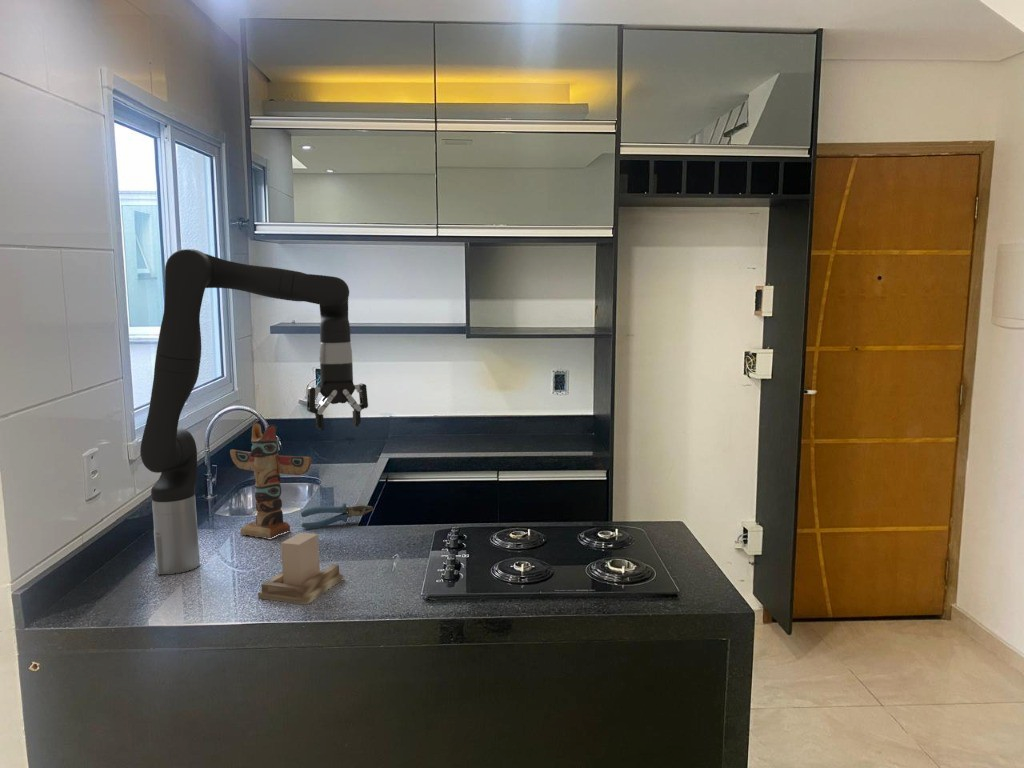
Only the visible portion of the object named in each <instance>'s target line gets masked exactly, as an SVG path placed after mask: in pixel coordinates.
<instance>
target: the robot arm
mask: <svg viewBox="0 0 1024 768" xmlns="http://www.w3.org/2000/svg"><path fill="white" fill-rule="evenodd" d="M206 289H229V290H237V291H242V292H246V293H249V294H254V295H258V296H262V297H266V298H271V299H272V298H273V299H277V300H278V299H279V300H282V301H283V300H284V301H291V302H305V303H306V302H307V303H310V304H316V305H319V315H320V316H319V317H320V323H319V337H320V338H319V340H320V341H319V342H320V344H319V345H320V347H319V364H320V365H319V367H320V368H319V369H320V385H319V387H313V386H308V387H307V389H306V390H307V395H306V398H307V399H306V401H307V402H306V410H307V412H309V413H311V414H314V415H315V427H316V428H317V429H318V430H319V431H324V430H325V422H324V414H323V413H324V412H325V410H326V408H328V407H329V405H330V404H332V405H336V404H346V403H348V404H349V406H350V407H351V408H352V409H353V410H352V425H353V427H354V428H358V427H359V426H360V425H361V422H362V420H361V419H362V418H361V417H362V416H361V412H362V411H363V410H365V409H367V408H369V402H368V401H369V400H368V391H367V390H368V388H367V385H366V384H365V383H358V384H354V372H353V370H354V369H353V350H352V343H351V325H350V321H349V297H350V289H349V285H348V283H346V281H344V280H343V279H342V278H341V277H337V276H331V275H322V274H311V273H305V272H302V271H297V270H293V269H292V270H290V269H287V268H286V269H285V268H279V267H271V266H262V265H254V264H246V263H245V264H244V263H241V262H235V261H230V260H226V259H222V258H219V257H217V256H213V255H210V254H207V253H205V252H203V251H201V250H197V249H194V248H193V249H192V248H191V249H190V248H187V249H185V248H184V249H179V250H177V251H175V252H173V253H172V254H171V255H170V256H169V257H168V259H167V261H166V263H165V267H164V307H163V309H164V310H163V316H162V318H161V319H162V320H161V323H160V324H161V325H160V329H159V333H158V334H159V335H158V341H157V346H156V351H155V361H154V368H153V369H154V371H153V382H152V388H151V394H150V401H149V408H148V412H147V417H146V421H145V426H144V429H143V433H142V434H143V435H142V437H141V442H140V443H141V444H140V450H139V452H140V453H139V454H140V458H141V459H140V460H141V463H142V464H143V466H144V467H145V468H146V469H147V470H148V471H150V472H152V473H156V474H157V473H158V474H159V473H160V476H159V477H158V479H157V481H156V482H155V483H154V484H153V486H152V487H151V490H150V491H151V492H150V496H151V498H150V499H151V507H152V508H151V509H152V519H153V539H154V552H155V553H154V555H155V561H156V562H155V565H156V566H157V567H156V572H157V571H158V572H157V574H159V575H160V574H161V575H174V574H175V573H176V574H182V573H186V571H187V572H189V570H190V571H193V570H194V568H195V569H196V568H198V567H199V566H200V565H201V560H200V558H201V556H200V545H199V535H198V534H199V533H198V531H199V530H198V518H197V517H198V516H197V504H196V503H197V502H196V492H195V490H196V485H197V482H198V450H197V449H198V448H197V443H196V441H195V438H194V436H193V435H192V434H191V432H190V431H189V430H187V429H185V428H183V427H179V421H180V417H181V413H182V410H183V409H184V406H185V404H187V403H186V402H187V401H188V400H189V397H190V396H191V394H192V392H193V390H194V389H195V388H194V387H195V386H196V383H197V381H198V379H199V373H200V368H201V367H200V366H201V359H202V334H201V319H200V318H201V317H200V316H201V307H202V305H203V298H204V295H205V290H206ZM355 391H356V392H357V393H358V394H359V396H358V397H359V403H358V402H357V401H356V399H355V398H354V397H353V396H352V395H353V393H354V392H355ZM319 394H321V395H322V398H321V400H320V401H319V402H318V405H317V406H316V397H317V396H318V395H319ZM199 564H200V565H199ZM198 565H199V566H198ZM197 566H198V567H197ZM181 572H182V573H181ZM159 575H158V576H159Z"/></svg>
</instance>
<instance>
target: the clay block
mask: <svg viewBox="0 0 1024 768" xmlns="http://www.w3.org/2000/svg"><path fill="white" fill-rule="evenodd" d="M280 545H281V546H280V548H281V549H280V550H281V551H280V552H281V565H282V572H283V584H292V585H302V584H303V583H305V582H307V581H308V580H310V579H311V578H313V577H314V576H316V575H317V574H319V573H320V571H321V570H320V569H321V568H320V553H319V552H320V551H319V550H320V549H319V546H320V545H319V535H318V533H311V532H310V533H307V532H299V533H297V534H295V535H293V536H291V537H289V538H287V539H285V540H284V541H281V543H280Z"/></svg>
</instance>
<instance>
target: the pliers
mask: <svg viewBox="0 0 1024 768" xmlns="http://www.w3.org/2000/svg"><path fill="white" fill-rule="evenodd" d="M372 511H374V507H373V506H371V505H364V504H358V505H353V506H347V504H346V502H343V503H342V504H341V506H323V505H322V506H315V507H310V508H307V509H304V510H302V511H301V512H300V515H301V517H302V518H306V517H309V516H312V515H316V514H327V513H328V514H329V513H330V514H337V515H334V516H332V517H328V518H326V519H322V520H318V521H313V522H312V521H311V522H302V523H301V528H304V529H307V530H310V529H318V528H319V529H320V528H323V527H326V526H329V525H332V524H334V523H337V522H340V521H343V522H344V523H347V522H348V518H353V517H361V516H364V515H366V514H368V513H370V512H372Z"/></svg>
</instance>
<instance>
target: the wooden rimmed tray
mask: <svg viewBox="0 0 1024 768" xmlns="http://www.w3.org/2000/svg"><path fill="white" fill-rule="evenodd" d="M342 579H343V580H344V573H340V565H339V564H333V563H332V565H330V566H329V567H327V568H325V569H324V570H322V571H321V570H320V573H319V574H317V575H316V576H314V577H313V578H311V579H310V580H308V581H307V582H305V583H303V584H302V585H292V584H283V571H281V572H280V573H278V574H276V575H274V576H272V577H271V578H269V579H267V580H265V581H264V582H263V583H261V590H260V591H258V593H257V597H258V599H260V600H261V599H263V600H270V601H278V602H285V603H291V604H301V605H309V604H310V603H312V602H313V601H315V600H316V599H317V598H319V597H320V596H322V595H323V594H325V593H326V592H328V591H329V590H330V589H332V588H333V587H334V586H336V585H337V584H338V582H339V581H340V582H342V581H343V580H342ZM340 582H339V583H340ZM335 584H336V585H335ZM332 586H333V587H332ZM328 589H329V590H328Z"/></svg>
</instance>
